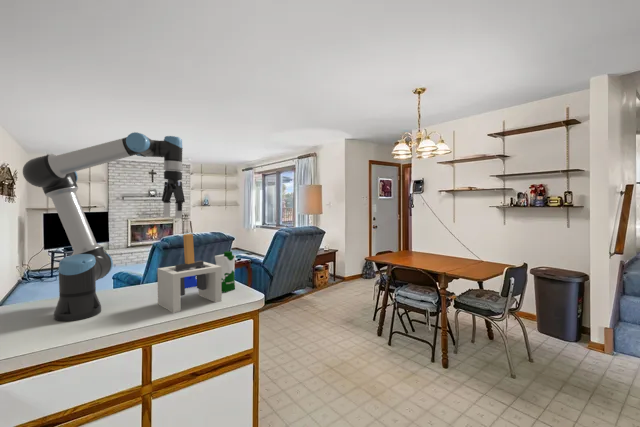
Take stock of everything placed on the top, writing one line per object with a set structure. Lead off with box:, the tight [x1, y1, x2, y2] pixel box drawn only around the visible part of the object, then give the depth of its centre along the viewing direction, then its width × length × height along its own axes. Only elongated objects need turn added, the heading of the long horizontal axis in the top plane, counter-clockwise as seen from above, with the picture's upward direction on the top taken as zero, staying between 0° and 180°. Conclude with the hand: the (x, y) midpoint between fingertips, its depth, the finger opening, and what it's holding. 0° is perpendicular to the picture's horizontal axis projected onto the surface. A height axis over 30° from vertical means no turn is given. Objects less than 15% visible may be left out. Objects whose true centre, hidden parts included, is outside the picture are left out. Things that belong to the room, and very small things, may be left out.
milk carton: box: [214, 250, 237, 293], centre depth 166 cm, size 9×9×20 cm
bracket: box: [184, 275, 197, 289], centre depth 177 cm, size 18×8×9 cm, turn 135°
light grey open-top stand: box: [157, 261, 223, 314], centre depth 145 cm, size 22×16×16 cm
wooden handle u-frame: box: [174, 233, 206, 297], centre depth 145 cm, size 12×5×26 cm, turn 137°
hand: (172, 217), depth 148 cm, fingers open, 13 cm apart
